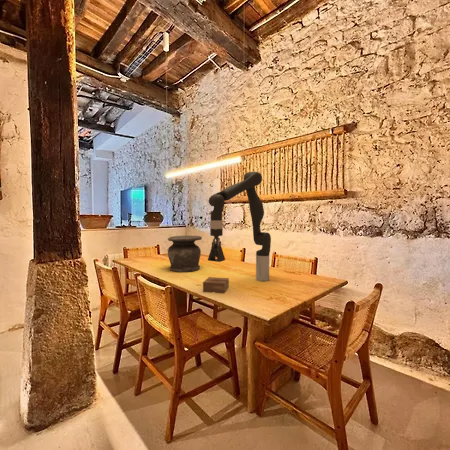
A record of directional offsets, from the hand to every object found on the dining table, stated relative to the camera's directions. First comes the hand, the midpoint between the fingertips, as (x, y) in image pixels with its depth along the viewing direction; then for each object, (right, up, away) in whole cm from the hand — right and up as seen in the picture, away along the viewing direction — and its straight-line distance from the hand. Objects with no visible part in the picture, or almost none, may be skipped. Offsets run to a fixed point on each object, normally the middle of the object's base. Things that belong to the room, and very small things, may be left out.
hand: (216, 255), depth 160 cm
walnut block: (0, -21, +1) cm, 21 cm away
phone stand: (0, -3, 0) cm, 3 cm away
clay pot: (-28, -18, +58) cm, 67 cm away
